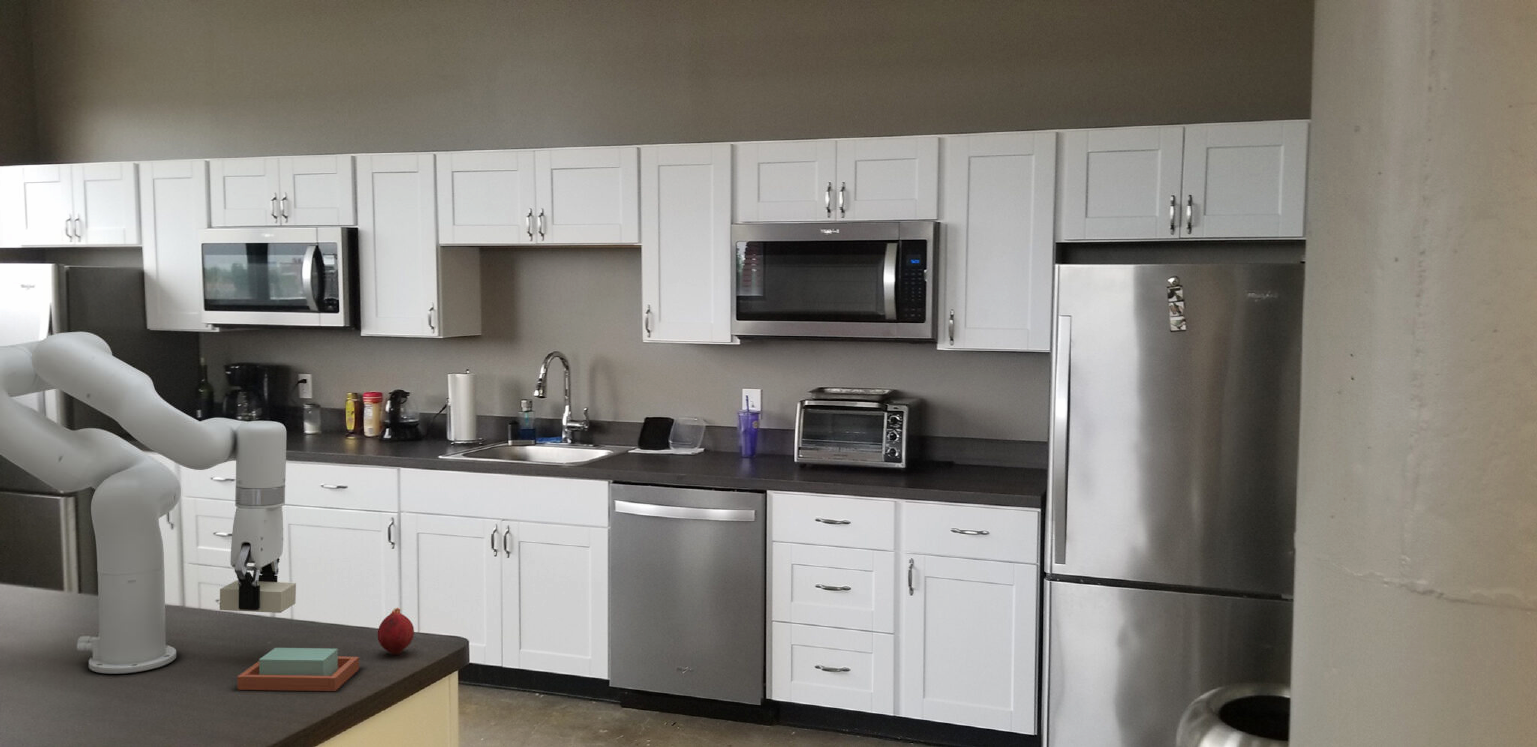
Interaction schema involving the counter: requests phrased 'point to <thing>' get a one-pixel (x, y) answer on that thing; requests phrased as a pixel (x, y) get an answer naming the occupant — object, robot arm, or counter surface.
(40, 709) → the counter surface
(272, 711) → the counter surface
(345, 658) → the holder
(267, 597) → the pad top
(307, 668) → the pad base
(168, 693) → the counter surface
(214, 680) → the counter surface
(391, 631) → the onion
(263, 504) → the robot arm
